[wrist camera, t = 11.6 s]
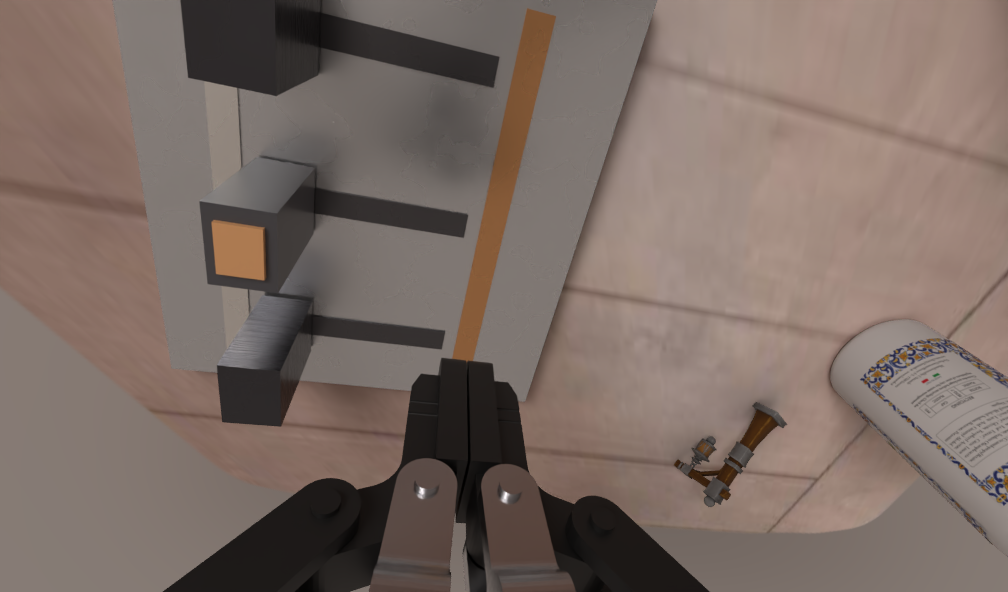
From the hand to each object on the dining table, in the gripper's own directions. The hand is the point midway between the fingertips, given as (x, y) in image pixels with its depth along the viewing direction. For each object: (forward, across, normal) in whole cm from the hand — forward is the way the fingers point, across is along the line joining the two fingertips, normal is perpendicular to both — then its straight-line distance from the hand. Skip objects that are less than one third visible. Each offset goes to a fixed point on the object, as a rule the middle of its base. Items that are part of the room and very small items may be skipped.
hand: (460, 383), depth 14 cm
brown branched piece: (+13, -22, +14) cm, 29 cm away
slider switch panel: (+12, +4, 0) cm, 13 cm away
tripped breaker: (+11, +8, -1) cm, 13 cm away
